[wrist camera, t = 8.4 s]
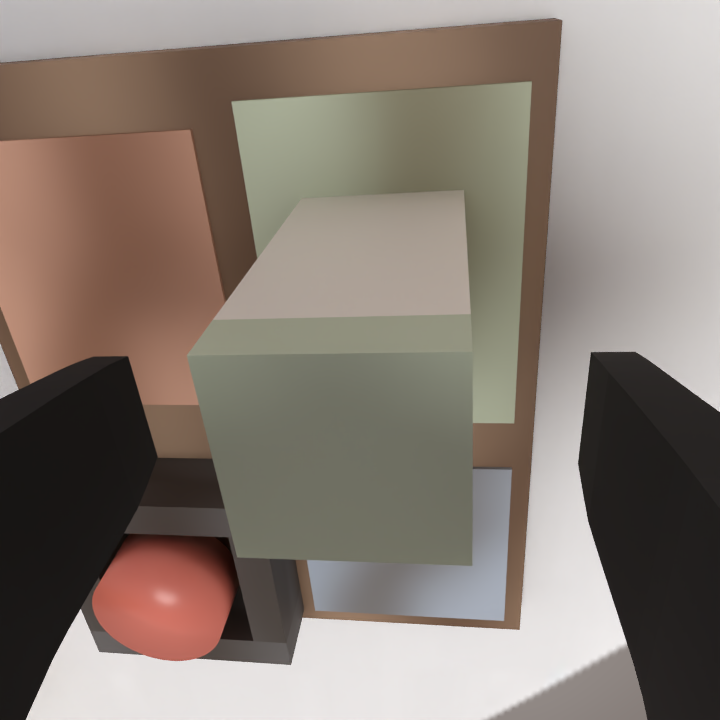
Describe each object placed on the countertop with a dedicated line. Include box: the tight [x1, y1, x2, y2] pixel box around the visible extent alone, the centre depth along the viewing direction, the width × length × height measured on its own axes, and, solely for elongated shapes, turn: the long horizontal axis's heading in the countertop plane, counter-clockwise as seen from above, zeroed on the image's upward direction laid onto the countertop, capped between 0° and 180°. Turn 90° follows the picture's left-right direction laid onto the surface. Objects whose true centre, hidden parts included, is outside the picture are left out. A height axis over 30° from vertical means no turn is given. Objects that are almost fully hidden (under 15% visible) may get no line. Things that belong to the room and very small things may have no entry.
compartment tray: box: [0, 18, 562, 665], centre depth 17 cm, size 14×17×3 cm
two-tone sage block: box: [187, 190, 473, 566], centre depth 12 cm, size 4×4×7 cm
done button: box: [92, 534, 240, 661], centre depth 18 cm, size 4×4×2 cm
